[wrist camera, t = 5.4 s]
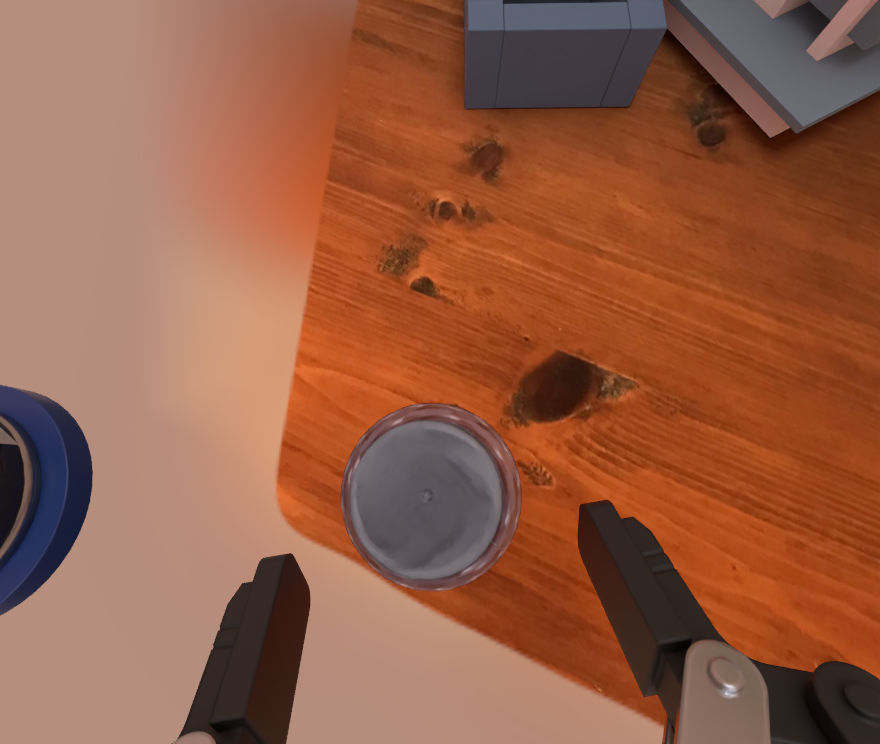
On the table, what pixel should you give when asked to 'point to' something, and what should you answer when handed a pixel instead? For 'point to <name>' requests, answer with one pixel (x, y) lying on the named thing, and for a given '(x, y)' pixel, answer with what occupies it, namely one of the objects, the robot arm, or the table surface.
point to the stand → (558, 51)
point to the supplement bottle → (431, 497)
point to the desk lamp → (784, 54)
